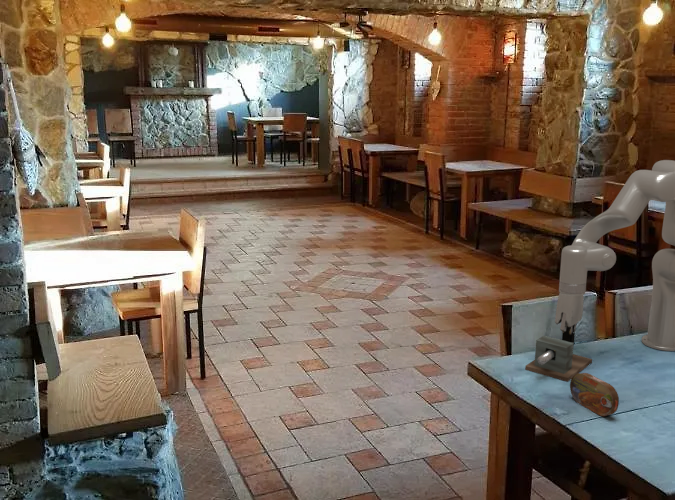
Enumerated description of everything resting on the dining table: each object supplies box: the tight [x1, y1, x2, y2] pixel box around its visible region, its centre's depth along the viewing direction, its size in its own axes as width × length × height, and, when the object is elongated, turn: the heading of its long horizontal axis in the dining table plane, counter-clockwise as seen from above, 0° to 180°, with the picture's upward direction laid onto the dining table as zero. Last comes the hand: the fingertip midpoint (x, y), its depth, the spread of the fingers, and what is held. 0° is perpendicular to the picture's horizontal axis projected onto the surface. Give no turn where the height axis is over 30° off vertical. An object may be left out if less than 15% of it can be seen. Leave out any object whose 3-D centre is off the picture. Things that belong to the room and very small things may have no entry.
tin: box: [569, 372, 620, 417], centre depth 176 cm, size 15×3×8 cm, turn 23°
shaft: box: [537, 338, 561, 365], centre depth 197 cm, size 13×5×5 cm, turn 139°
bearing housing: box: [524, 335, 593, 383], centre depth 202 cm, size 18×13×9 cm
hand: (567, 344), depth 206 cm, fingers closed
